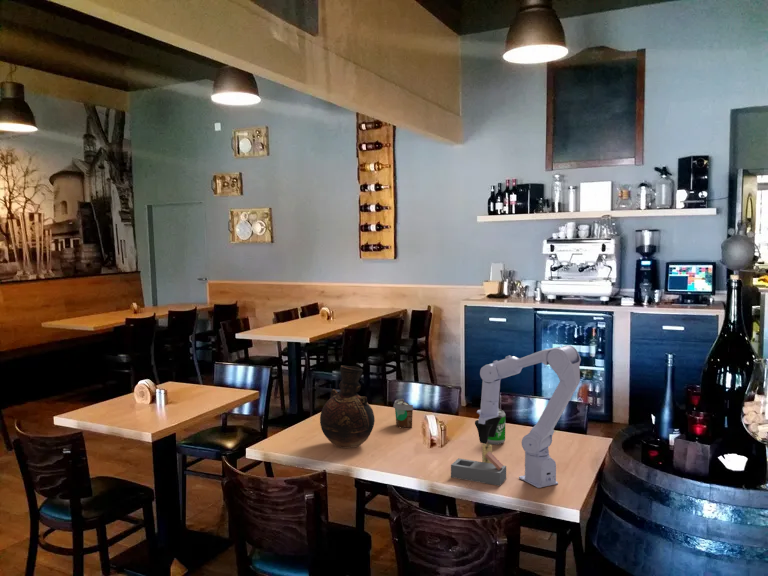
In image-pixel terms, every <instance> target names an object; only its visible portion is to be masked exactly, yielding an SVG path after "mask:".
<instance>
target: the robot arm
mask: <svg viewBox="0 0 768 576" xmlns="http://www.w3.org/2000/svg"><path fill="white" fill-rule="evenodd" d="M581 361H582V359H581V356H580V353H579V351H578V350H577V348H576V347H574V346H573V345H568V344H567V345H563V346H561V347H560V346H556V347H551V348H546V349H543V350H539V351H536V352H533V353H531V354H528V355H526V356H523V357H522V356H521V357H517V356H516V355H515V356H514V355H513V356H512V355H510V354H509V355H507V356H505V358H503V359H500V360H498V359H496V360H493V361H492V363H489V364H485V365H483V366H482V367H481V368H480V370H479V376H480V379H481V380H482V381H481V382H482V383H481V396H480V397H481V398H480V399H481V400H480V409H477V411H476V414H478V415H479V417H478V419H477V420H475V421H474V426H475V427H476V430H477V434H478V438H479V439H478V440H479V443H480V444H488V442H487V441H488V436H489V437H494V436H495V433H496V429H497V426H498V424H499V422H500V420H501V418H502V416H500V415H498V413H499V409H500V408H499V403H500V390H501V380H502V379H506V378H508V377H511V376H515V375H518V374H520V373H521V372H522V369H523V368H526V367H530V366H533V365H537V364H541V363H542V364H543V365H545V366H549V367H551V369H552V370H553V371H554V373H555V374H556V375H557V378H558V379H559V382H558V384H557V386H556V388H555V389H554V392H553V393H552V395H551V397H550V399H549V401H547V404H546V407H545V408H544V410H543V412H542V413H541V416H540V417H539V419H538V421H537V422H536V424H535V425H534V426H533V427H532V428H531V429H530V431H529V433H527V434H525V435H524V436H523V437H522V439H521V447H522V449H523V451H524V475H519V476H518V478H519V479H520V480H522V481H523V482H526V483H528V484H530V485H532V486H534V487H536V488H537V489H540V488H544V487H545V488H546V487H549V486H554V485H558V484H559V482H558V481H557V464H556V461H555V459H553V458H552V457H551V455H550V451H549V447H550V446H551V445H552V442H553V435H554V433H555V427H556V426H557V423H558V422H559V420H560V418H561V416H562V414H563V412H564V410H566V407H567V406H568V404H569V403H570V400H571V399H572V397H573V395H574V394H575V391H576V389H577V388H578V386H579V385H580V382H581V375H580V374H581V372H580V371H581V369H580V366H581V365H580V364H581Z"/></svg>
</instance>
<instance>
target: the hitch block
mask: <svg viewBox="0 0 768 576" xmlns="http://www.w3.org/2000/svg"><path fill="white" fill-rule="evenodd" d="M450 478H453V479H458V480H459V479H460V480H463V481H464V480H465V481H471V482H476V483H483V484H488V485H494V486H500V487H501V485H503V483H504V481H506V479H507V465H504V464H503V466H502V468H501V469H500V470H498V469H497V468H496V467H495V466H494V465H493V464H491V463H485V462H482V461H479V460H478V461H477V460H471V459H464V458H457V459H456V460H455V461H454V462H453V463H451V465H450Z"/></svg>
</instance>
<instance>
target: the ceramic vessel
mask: <svg viewBox="0 0 768 576" xmlns="http://www.w3.org/2000/svg"><path fill="white" fill-rule="evenodd" d="M339 369H340V374H341V375H340V376H341V381H340V383H339V385H338V387H339V389H340V391H339V392H338V391H337V390H336V389H334V388H333V389H332V390H331V391H330V398H329V399H328V400H327V401H326V402H325V403H324V405H323V406H322V409H321V412H320V417H319V422H320V423H319V425H320V428H321V431H322V432H323V435H324V437H326V439H327V440H328V441H329V442H330V443H331V444H333V445H334V446H335V447H337V448H345V449H347V448H356V447H359V446H361V445H362V444H363V443H365V442H366V441H367V440H368V439H369V437H370V435H371V433H372V431H373V429H374V425H375V422H376V421H375V420H376V419H375V414H374V411H373V408H372V406H371V405H370V404H369V403H368V397H367V396H364V395H363V396H361V395H359V394H358V393H359V392H360V391H361V389H362V388H361V387H362V385H361V384H360V382H359V380H360V378H361V376H362V374H363V373H364V370H363V369H362V368H360V367H357V366H352V365H350V366H349V365H340V367H339Z"/></svg>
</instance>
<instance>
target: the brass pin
mask: <svg viewBox="0 0 768 576" xmlns="http://www.w3.org/2000/svg"><path fill="white" fill-rule="evenodd" d="M481 448H482V449H481V450H482V451H481V455H482V456H481V457H482V458H481V460H482V461H481V462H485V463H491V462H490V461H489V460H488V459H487V458H486V457H485V455H486V454H487V453H488V452H489V451H490V452H491V453H492V454H493V444H490V443H486V444H484V443H482V445H481ZM491 464H492V463H491Z"/></svg>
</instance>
